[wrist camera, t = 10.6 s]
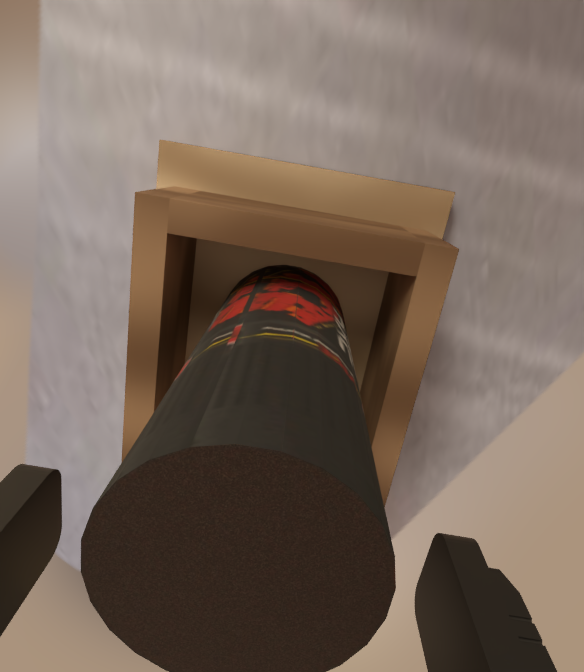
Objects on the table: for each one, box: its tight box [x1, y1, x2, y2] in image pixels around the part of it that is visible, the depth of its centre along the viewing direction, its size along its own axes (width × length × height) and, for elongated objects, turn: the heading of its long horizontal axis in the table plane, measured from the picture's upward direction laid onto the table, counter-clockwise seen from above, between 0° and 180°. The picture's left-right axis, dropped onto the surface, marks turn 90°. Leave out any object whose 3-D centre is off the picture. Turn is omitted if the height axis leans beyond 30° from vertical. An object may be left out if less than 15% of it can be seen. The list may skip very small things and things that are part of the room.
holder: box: [122, 140, 459, 507], centre depth 21 cm, size 15×13×6 cm
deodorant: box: [81, 265, 396, 672], centre depth 16 cm, size 6×6×15 cm
